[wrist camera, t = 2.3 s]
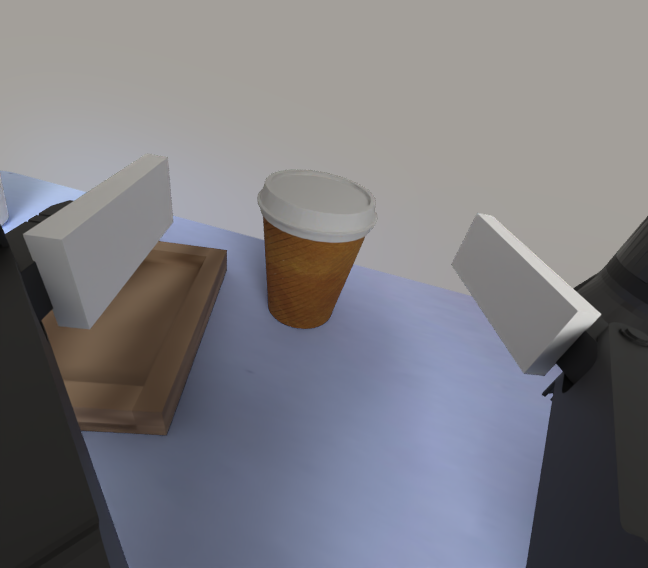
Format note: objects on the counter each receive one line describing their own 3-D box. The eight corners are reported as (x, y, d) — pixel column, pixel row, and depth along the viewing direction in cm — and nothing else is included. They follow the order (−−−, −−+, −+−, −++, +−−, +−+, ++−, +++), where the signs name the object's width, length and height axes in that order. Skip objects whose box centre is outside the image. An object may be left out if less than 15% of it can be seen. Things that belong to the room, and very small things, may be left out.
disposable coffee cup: (229, 306, 30) (230, 179, 23) (292, 267, 37) (307, 161, 30) (311, 360, 26) (342, 231, 19) (363, 306, 33) (400, 197, 26)
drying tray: (226, 270, 34) (226, 250, 33) (166, 435, 20) (161, 412, 18) (39, 247, 32) (30, 224, 30) (-185, 416, 17) (-223, 387, 16)
